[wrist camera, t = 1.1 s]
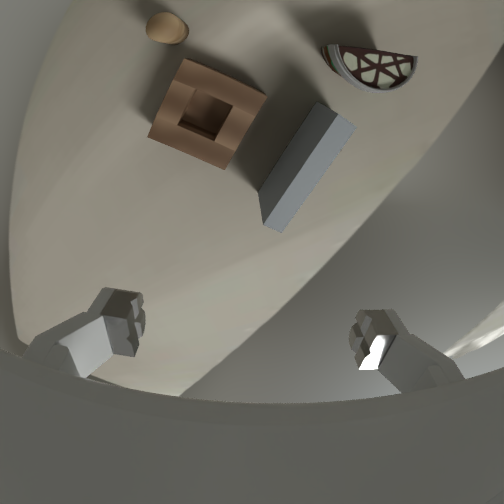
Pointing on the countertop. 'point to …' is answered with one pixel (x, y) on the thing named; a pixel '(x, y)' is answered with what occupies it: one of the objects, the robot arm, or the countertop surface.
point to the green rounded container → (370, 67)
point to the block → (206, 113)
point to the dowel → (167, 28)
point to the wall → (302, 165)
